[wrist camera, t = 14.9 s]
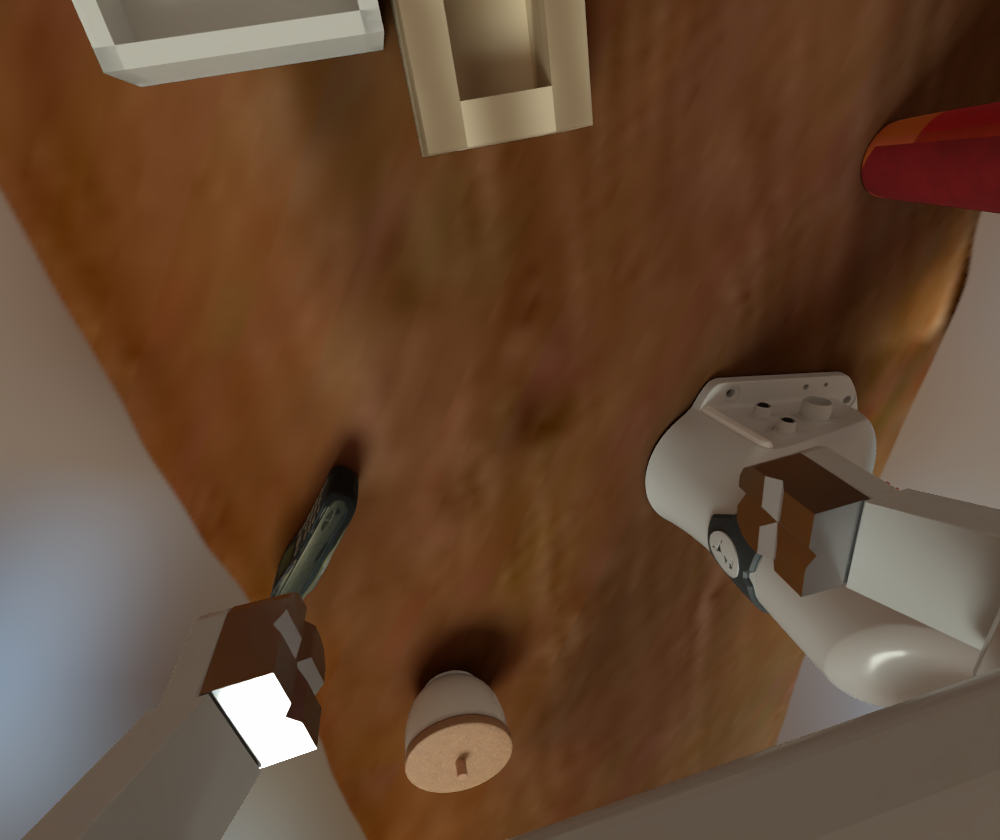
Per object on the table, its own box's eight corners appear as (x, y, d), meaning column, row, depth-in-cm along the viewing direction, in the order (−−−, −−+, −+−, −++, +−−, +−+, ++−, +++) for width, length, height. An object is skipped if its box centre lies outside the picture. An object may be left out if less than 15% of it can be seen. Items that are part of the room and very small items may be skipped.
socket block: (548, -60, 30) (578, -101, 26) (565, 131, 35) (592, 124, 30) (382, -38, 29) (382, -76, 24) (422, 157, 33) (429, 154, 29)
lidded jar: (465, 639, 54) (481, 724, 45) (513, 688, 59) (535, 772, 50) (381, 690, 54) (382, 782, 46) (436, 734, 59) (445, 824, 51)
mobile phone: (325, 489, 37) (251, 636, 41) (364, 502, 38) (288, 644, 42) (330, 458, 42) (262, 593, 46) (365, 470, 43) (296, 601, 47)
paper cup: (896, 223, 43) (1102, 242, 31) (831, 193, 41) (1027, 201, 28) (952, 123, 40) (1204, 100, 28) (886, 85, 38) (1130, 41, 26)
